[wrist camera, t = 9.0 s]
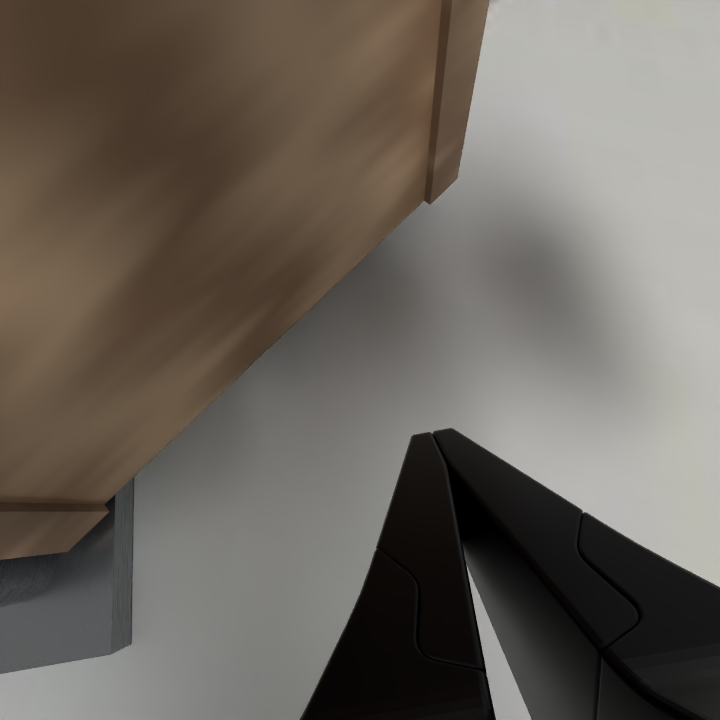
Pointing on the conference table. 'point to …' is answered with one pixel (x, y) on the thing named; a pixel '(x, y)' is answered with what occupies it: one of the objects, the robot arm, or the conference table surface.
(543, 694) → the robot arm
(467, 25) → the gate
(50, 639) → the gate post
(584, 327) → the conference table surface
